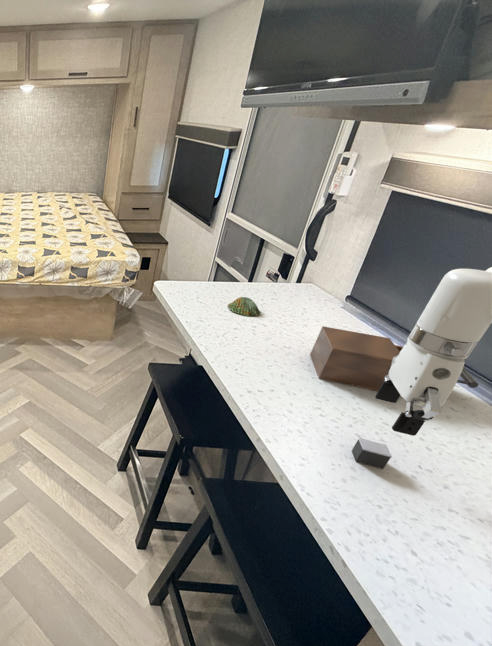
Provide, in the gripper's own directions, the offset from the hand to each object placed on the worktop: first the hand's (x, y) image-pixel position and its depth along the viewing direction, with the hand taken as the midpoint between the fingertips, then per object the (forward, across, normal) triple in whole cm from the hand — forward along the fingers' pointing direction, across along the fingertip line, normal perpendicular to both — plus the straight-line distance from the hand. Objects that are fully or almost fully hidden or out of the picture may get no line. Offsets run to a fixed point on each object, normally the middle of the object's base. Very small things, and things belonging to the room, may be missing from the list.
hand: (393, 415), depth 76 cm
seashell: (+12, +65, +19) cm, 69 cm away
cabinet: (+12, +35, -4) cm, 37 cm away
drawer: (+11, +35, -17) cm, 40 cm away
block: (+12, 0, 0) cm, 12 cm away
